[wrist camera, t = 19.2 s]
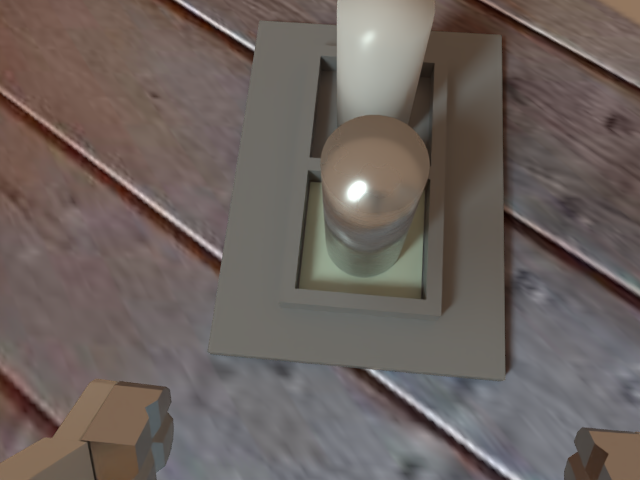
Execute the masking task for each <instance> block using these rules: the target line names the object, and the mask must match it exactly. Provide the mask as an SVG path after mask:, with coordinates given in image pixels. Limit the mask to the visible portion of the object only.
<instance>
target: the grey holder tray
mask: <svg viewBox="0 0 640 480" xmlns="http://www.w3.org/2000/svg"><path fill="white" fill-rule="evenodd" d="M434 15H435V2H434V0H338V2H337V25H325V24H309V23H292V22H275V21H259V26H258V33H257V39H256V45H255V52H254V58H253V65H252V71H251V77H250V84H249V90H248V96H247V103H246V109H245V116H244V122H243V128H242V135H241V141H240V148H239V154H238V160H237V167H236V173H235V180H234V186H233V192H232V199H231V205H230V211H229V218H228V224H227V231H226V237H225V243H224V250H223V256H222V263H221V269H220V275H219V282H218V288H217V295H216V301H215V307H214V314H213V320H212V326H211V333H210V339H209V346H208V353H210V354H213V355H224V356H234V357H245V358H256V359H266V360H277V361H288V362H298V363H309V364H320V365H331V366H341V367H352V368H363V369H373V370H384V371H395V372H405V373H416V374H427V375H437V376H448V377H459V378H469V379H480V380H491V381H503V380H505V300H504V205H503V110H502V35H494V34H477V33H460V32H444V31H431V27H432V23H433V19H434ZM365 115H383V116H388V117H392V118H395V119H398V120H400V121H402V122H404V123H405V124H407V125H408V126H410V127H411V128H412V129H413V130H414V131H416V133H417V134H418V135H419V136H420V137H421V139H422V140H423V142H424V144H425V146H426V148H427V151H428V155H429V160H430V169H429V175H428V179H427V182H426V184H425V187H424V190H423V193H422V195H421V198H420V201H419V204H418V206H417V209H416V212H415V215H414V217H413V220H412V223H411V226H410V228H409V231H408V234H407V237H406V239H405V242H404V245H403V248H402V250H401V253H400V255H399V258H398V259H397V261H396V262H395V264H394V265H393V266H392V267H391V268H390V269H389V270H387V271H386V272H384V273H382V274H380V275H378V276H374V277H368V278H360V277H355V276H351V275H349V274H346V273H345V272H343V271H342V270H340V269H339V268H338V267H337V266H336V265H335V264H334V263H333V262H332V260H331V259H330V257H329V255H328V252H327V248H326V241H325V226H324V211H323V196H322V182H321V167H320V162H321V154H322V150H323V147H324V145H325V143H326V141H327V139H328V138H329V136H330V135H331V134H332V133H333V132H334V130H336V129H337V128H338V127H339V126H340V125H342V124H343V123H345V122H347V121H349V120H351V119H354V118H356V117H360V116H365Z"/></svg>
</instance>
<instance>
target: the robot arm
mask: <svg viewBox="0 0 640 480" xmlns="http://www.w3.org/2000/svg"><path fill="white" fill-rule="evenodd" d="M170 404H171V394H170V389H169V388H167V387H163V386H155V385H147V384H139V383H131V382H123V381H120V382H117V381H110V380H102V379H95V380H93V381H92V382H90V383H89V384H88V386H87V387H86V389H85V390H84V392H83V393H82V395H81V396H80V398H79V399H78V401H77V402H76V403H75V405H74V406H73V408H72V409H71V411H70V412H69V414H68V415H67V417H66V418H65V420H64V421H63V423H62V424H61V425H60V427H59V428H58V430H57V431H56V433H55V434H54V436H53V437H52V438H43V439H41V440H39V441H38V442H36V443H34V444H33V445H31V446H29V447H27V448H26V449H24V450H22V451H20V452H19V453H17V454H15V455H14V456H12V457H10V458H8V459H7V460H5V461H3V462H2V463H0V480H157V479H156V473H157V472H158V471H159V470H161V469H162V468H163V467H165V465H166V463H167V460H168V457H169V455H170V451H171V447H172V442H173V434H174V423H173V418H172V417H171V416H170V415H169V413H168V412H167V411H168V409H169V406H170ZM574 443H575V446H576V448H577V451H578V452H577V453H575V454H574V455H572V456H571V457H569V458H568V460H567V464H566V467H565V470H564V480H640V432H629V431H618V430H607V429H596V428H585V427H582V428H581V429H580V430H579V431H578V432H577V435H576V437H575V440H574Z"/></svg>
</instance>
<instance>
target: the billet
mask: <svg viewBox="0 0 640 480" xmlns="http://www.w3.org/2000/svg"><path fill="white" fill-rule="evenodd" d="M320 167H321V182H322V196H323V211H324V226H325V241H326V248H327V252H328V255H329V257H330V259H331V260H332V262H333V263H334V264H335V265H336V266H337V267H338V268H339V269H340V270H342V271H343V272H345V273H346V274H349V275H351V276H355V277H360V278H368V277H374V276H378V275H380V274H382V273H384V272H386V271H387V270H389V269H390V268H391V267H392V266H393V265H394V264H395V262H396V261H397V259H398V258H399V255H400V253H401V250H402V248H403V245H404V242H405V239H406V237H407V234H408V231H409V228H410V226H411V223H412V220H413V217H414V215H415V212H416V209H417V206H418V204H419V201H420V198H421V195H422V193H423V190H424V187H425V184H426V182H427V179H428V175H429V169H430V160H429V155H428V151H427V148H426V146H425V144H424V142H423V140H422V139H421V137H420V136H419V135H418V134H417V133H416V131H414V130H413V129H412V128H411V127H410V126H408V125H407V124H405V123H404V122H402V121H400V120H398V119H395V118H392V117H388V116H383V115H365V116H360V117H356V118H354V119H351V120H349V121H347V122H345V123H343V124H342V125H340V126H339V127H338V128H337V129H336V130H334V132H333V133H332V134H331V135H330V136H329V138H328V139H327V141H326V143H325V145H324V147H323V150H322V154H321V162H320Z"/></svg>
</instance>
